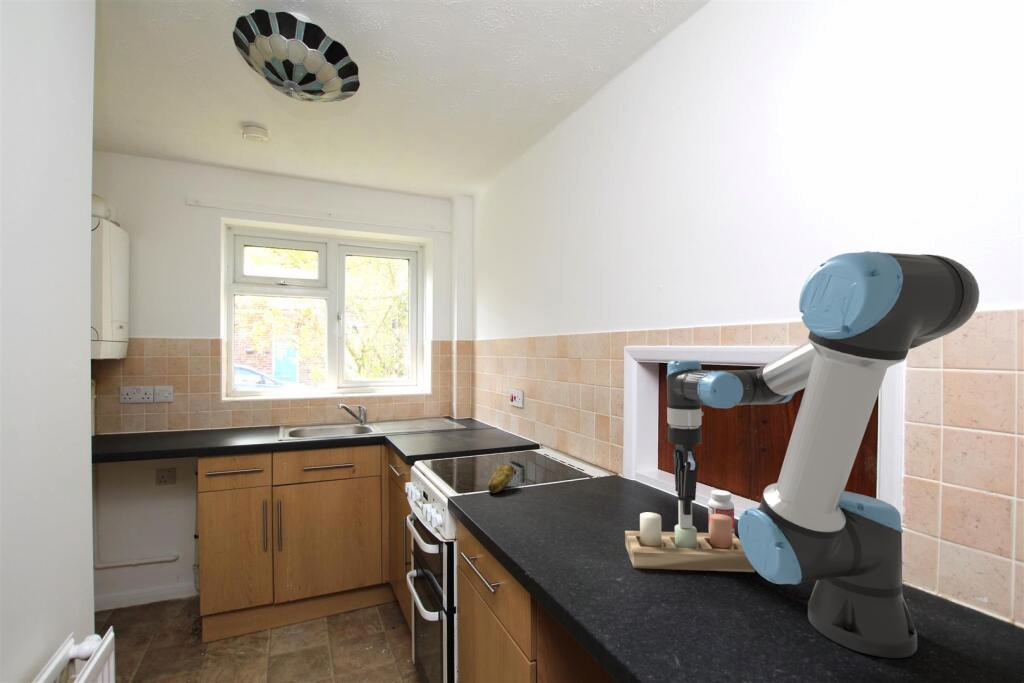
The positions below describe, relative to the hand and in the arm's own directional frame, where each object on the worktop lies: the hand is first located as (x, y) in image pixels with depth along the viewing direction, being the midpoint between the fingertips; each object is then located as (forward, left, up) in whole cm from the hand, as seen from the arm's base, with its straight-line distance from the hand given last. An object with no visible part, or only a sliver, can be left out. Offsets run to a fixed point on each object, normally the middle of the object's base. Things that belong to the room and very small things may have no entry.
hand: (685, 526), depth 108 cm
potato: (+48, +49, -7) cm, 69 cm away
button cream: (0, +8, -4) cm, 9 cm away
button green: (0, 0, -6) cm, 6 cm away
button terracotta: (0, -8, -4) cm, 9 cm away
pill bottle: (+14, -13, -7) cm, 20 cm away
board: (0, 0, -7) cm, 7 cm away
